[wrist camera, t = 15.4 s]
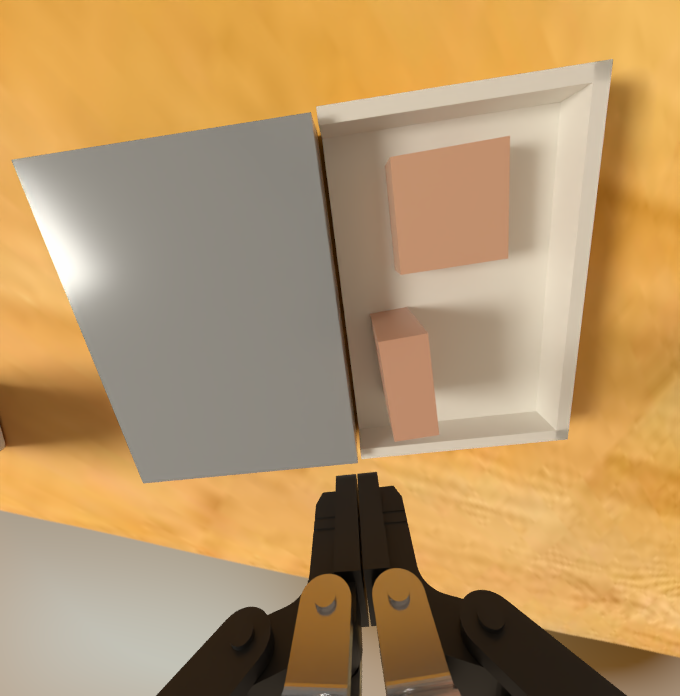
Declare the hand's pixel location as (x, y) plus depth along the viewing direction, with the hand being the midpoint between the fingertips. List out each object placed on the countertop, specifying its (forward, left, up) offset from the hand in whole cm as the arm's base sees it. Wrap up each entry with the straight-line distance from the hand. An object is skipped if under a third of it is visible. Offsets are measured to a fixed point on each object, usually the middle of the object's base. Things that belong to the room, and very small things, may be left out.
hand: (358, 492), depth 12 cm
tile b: (-1, +2, -9) cm, 9 cm away
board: (-4, -8, -13) cm, 15 cm away
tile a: (-9, +6, -10) cm, 15 cm away
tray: (-4, +7, -13) cm, 15 cm away
